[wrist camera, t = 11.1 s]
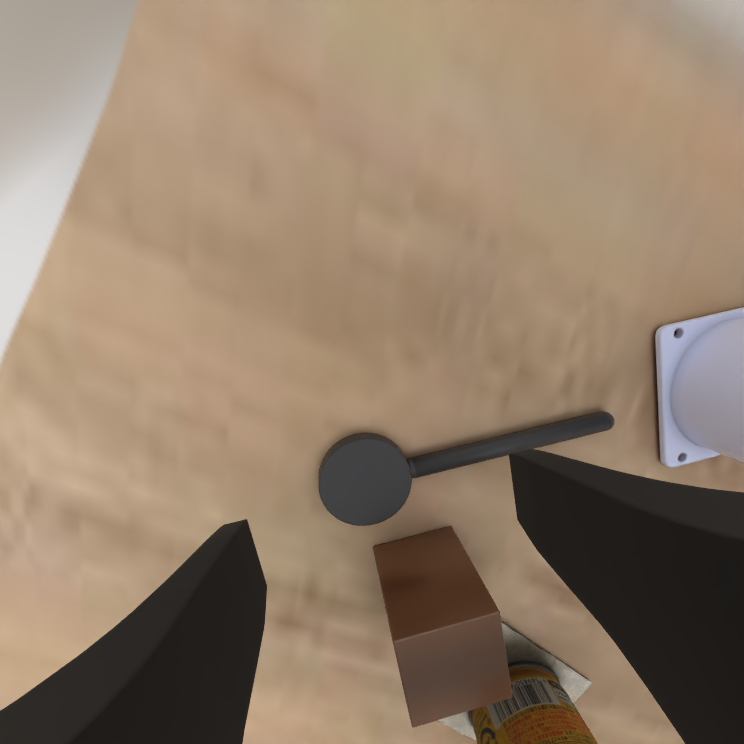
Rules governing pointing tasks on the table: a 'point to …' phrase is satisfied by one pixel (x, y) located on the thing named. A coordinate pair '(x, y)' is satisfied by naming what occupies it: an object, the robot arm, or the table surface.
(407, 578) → the walnut block
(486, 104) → the table surface
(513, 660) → the condiment
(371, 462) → the serving spoon
